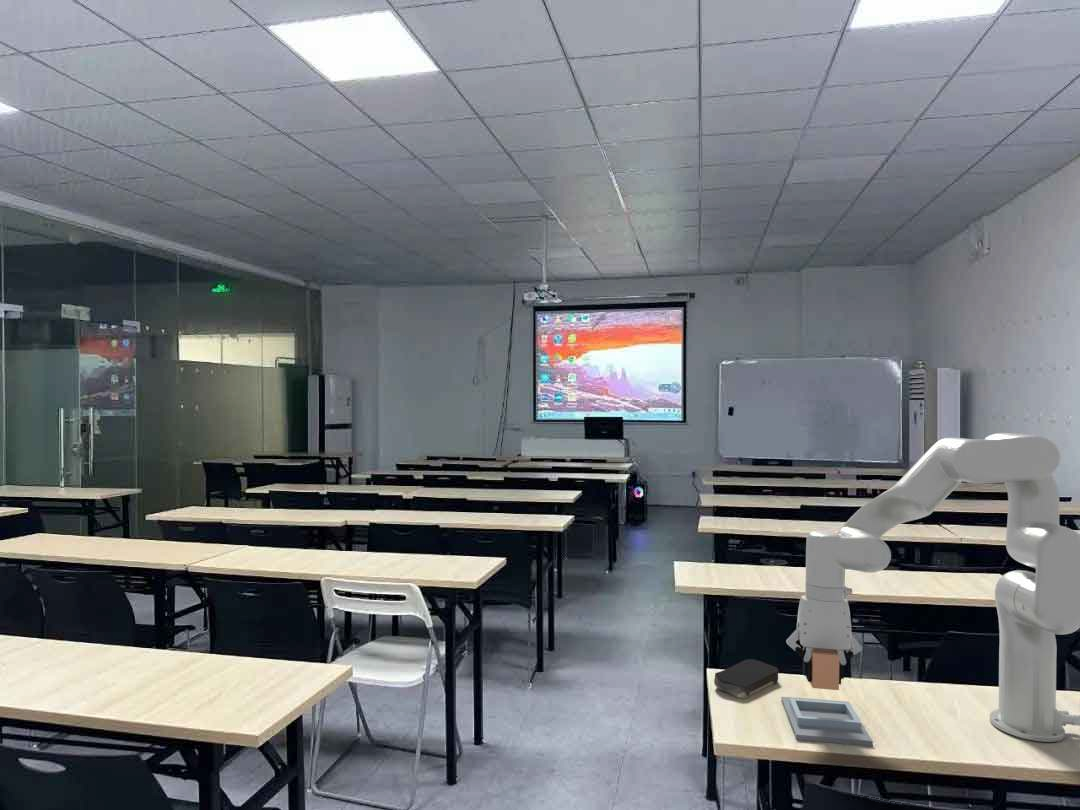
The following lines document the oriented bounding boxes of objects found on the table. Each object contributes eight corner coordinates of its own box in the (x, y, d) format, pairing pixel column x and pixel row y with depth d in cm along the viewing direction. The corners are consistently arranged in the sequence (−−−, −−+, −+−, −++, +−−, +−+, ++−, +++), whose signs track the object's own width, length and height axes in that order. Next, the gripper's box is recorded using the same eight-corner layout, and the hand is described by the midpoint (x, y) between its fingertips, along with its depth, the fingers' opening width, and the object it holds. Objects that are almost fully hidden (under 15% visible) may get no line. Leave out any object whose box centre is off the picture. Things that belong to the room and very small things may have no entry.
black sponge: (750, 672, 172) (750, 657, 172) (781, 683, 166) (781, 667, 166) (710, 690, 162) (710, 674, 162) (742, 702, 155) (742, 686, 155)
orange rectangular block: (833, 680, 147) (833, 647, 147) (838, 690, 142) (839, 655, 142) (807, 678, 148) (808, 645, 148) (812, 688, 143) (813, 653, 143)
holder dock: (848, 706, 153) (848, 694, 153) (872, 746, 135) (872, 733, 135) (781, 701, 155) (781, 689, 155) (796, 739, 138) (796, 726, 138)
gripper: (863, 590, 147) (862, 677, 147) (778, 585, 150) (777, 670, 150) (874, 600, 140) (872, 691, 140) (784, 594, 143) (782, 684, 143)
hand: (823, 679), depth 145 cm, fingers closed on orange rectangular block, 5 cm apart
